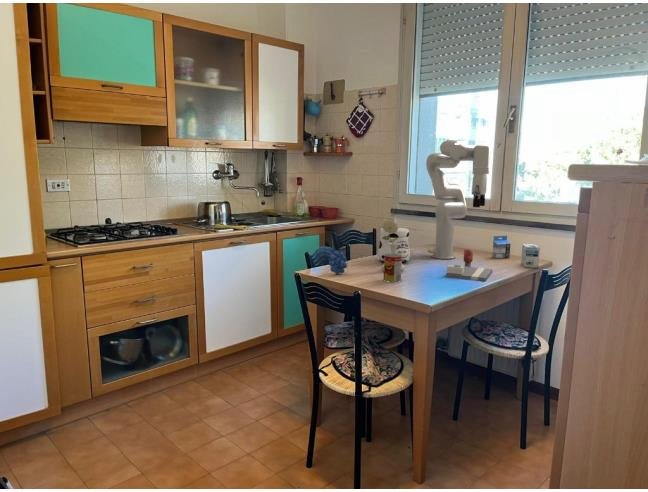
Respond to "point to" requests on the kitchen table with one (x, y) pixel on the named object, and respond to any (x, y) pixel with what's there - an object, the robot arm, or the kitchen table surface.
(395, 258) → the canned food
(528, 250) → the light bulb box
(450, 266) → the block
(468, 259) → the reddish rounded cylinder
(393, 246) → the flower in vase
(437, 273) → the kitchen table surface
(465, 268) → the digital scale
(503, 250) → the label tape cartridge
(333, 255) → the grapes
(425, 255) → the kitchen table surface
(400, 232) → the milk container
